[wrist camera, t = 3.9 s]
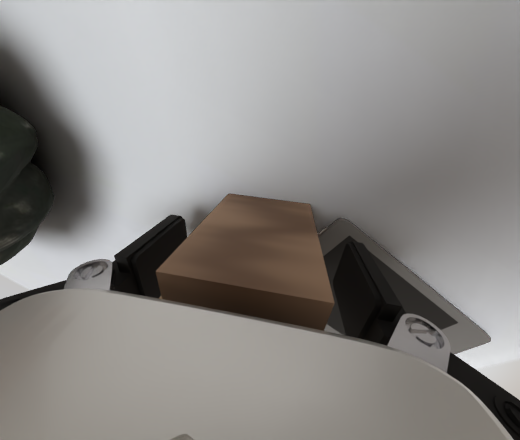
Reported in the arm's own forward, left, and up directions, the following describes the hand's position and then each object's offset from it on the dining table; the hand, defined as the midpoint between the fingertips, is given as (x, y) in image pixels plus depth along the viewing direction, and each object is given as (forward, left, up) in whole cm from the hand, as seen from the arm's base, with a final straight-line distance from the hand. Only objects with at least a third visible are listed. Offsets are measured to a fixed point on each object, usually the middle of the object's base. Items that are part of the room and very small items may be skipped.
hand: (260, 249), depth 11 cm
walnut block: (0, 0, -2) cm, 2 cm away
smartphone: (-9, +5, -2) cm, 10 cm away
